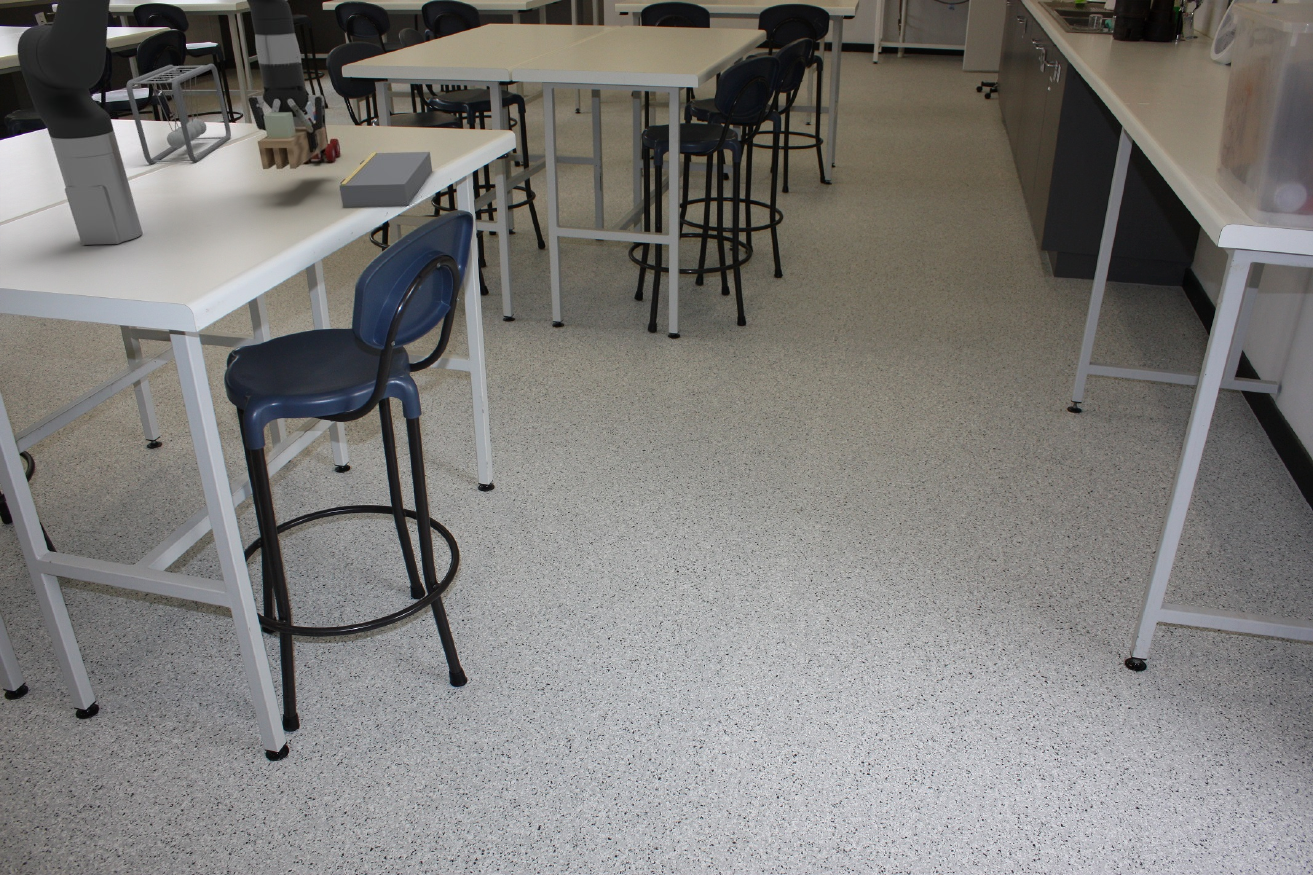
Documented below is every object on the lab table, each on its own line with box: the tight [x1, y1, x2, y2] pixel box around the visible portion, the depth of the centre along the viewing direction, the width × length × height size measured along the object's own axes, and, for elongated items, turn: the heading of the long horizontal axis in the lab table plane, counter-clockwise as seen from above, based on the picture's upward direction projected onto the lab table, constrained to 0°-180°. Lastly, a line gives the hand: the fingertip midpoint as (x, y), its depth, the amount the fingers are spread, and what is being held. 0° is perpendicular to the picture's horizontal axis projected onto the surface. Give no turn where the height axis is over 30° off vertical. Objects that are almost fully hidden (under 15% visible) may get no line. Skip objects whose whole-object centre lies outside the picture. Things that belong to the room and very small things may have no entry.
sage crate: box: [263, 112, 296, 139], centre depth 176 cm, size 4×4×4 cm
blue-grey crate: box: [293, 101, 314, 127], centre depth 187 cm, size 4×4×4 cm
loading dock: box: [339, 151, 433, 208], centre depth 188 cm, size 28×13×4 cm, turn 2°
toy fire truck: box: [303, 110, 341, 164], centre depth 210 cm, size 7×12×10 cm, turn 5°
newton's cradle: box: [126, 63, 232, 165], centre depth 219 cm, size 30×10×18 cm, turn 6°
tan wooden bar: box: [257, 121, 327, 170], centre depth 184 cm, size 22×6×5 cm, turn 2°
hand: (296, 151), depth 185 cm, fingers closed on tan wooden bar, 6 cm apart
